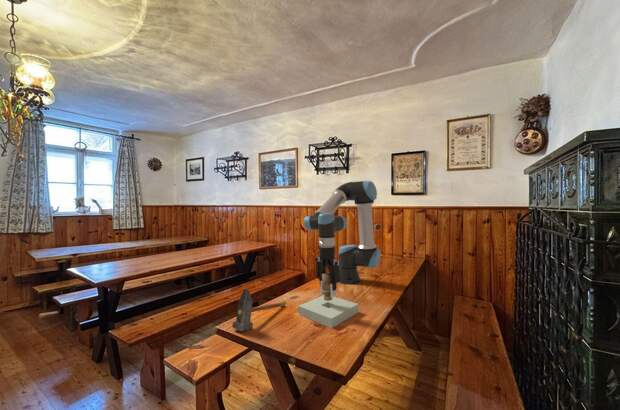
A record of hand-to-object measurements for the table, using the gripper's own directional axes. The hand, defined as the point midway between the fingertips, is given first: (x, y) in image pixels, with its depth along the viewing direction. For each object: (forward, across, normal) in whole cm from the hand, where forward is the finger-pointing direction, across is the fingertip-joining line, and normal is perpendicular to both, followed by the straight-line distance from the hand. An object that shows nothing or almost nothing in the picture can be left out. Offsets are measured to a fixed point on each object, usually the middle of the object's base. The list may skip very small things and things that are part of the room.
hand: (328, 295), depth 121 cm
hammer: (+9, -20, -23) cm, 32 cm away
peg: (+2, 0, 0) cm, 2 cm away
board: (+9, 0, 0) cm, 9 cm away
